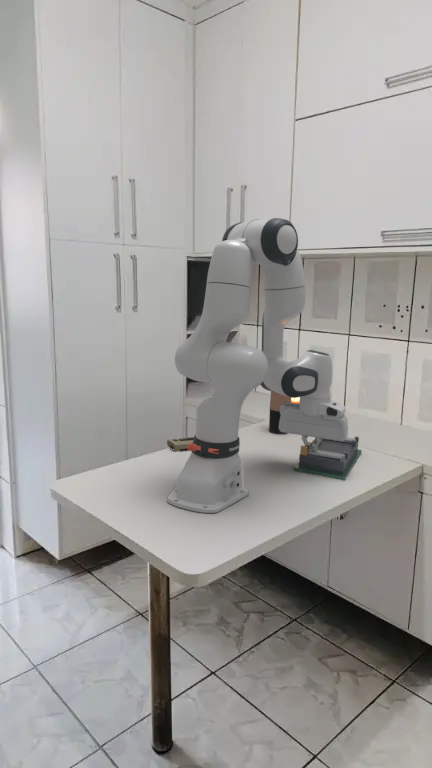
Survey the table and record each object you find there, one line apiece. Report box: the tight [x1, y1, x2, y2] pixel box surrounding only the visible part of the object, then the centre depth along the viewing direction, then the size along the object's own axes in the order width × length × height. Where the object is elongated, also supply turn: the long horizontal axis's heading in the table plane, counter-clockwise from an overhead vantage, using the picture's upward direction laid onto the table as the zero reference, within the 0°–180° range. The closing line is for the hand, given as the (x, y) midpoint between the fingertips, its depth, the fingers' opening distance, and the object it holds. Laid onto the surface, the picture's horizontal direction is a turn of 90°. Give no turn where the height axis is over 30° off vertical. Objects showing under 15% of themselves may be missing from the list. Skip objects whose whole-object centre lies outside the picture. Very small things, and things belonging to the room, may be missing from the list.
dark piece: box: [292, 436, 362, 481], centre depth 162 cm, size 28×15×7 cm, turn 155°
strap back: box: [322, 437, 356, 443], centre depth 170 cm, size 3×12×1 cm, turn 65°
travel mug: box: [268, 391, 291, 435], centre depth 191 cm, size 8×8×20 cm
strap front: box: [308, 449, 346, 459], centre depth 154 cm, size 3×12×1 cm, turn 65°
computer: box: [166, 436, 194, 452], centre depth 172 cm, size 16×8×3 cm, turn 113°
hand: (311, 450), depth 156 cm, fingers closed, pressing on strap front
